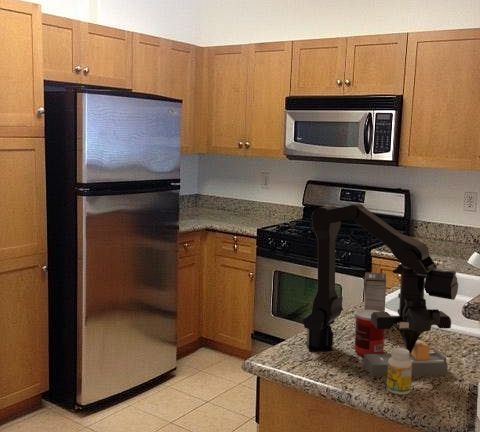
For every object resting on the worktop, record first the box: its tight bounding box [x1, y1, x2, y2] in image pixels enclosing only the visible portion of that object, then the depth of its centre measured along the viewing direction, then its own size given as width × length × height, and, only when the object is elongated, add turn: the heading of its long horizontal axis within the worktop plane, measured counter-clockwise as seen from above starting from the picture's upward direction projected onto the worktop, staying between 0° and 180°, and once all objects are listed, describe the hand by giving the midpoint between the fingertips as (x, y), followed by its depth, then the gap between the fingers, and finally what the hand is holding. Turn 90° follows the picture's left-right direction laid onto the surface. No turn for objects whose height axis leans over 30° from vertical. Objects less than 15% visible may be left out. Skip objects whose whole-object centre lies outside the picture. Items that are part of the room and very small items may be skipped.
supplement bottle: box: [386, 347, 412, 396], centre depth 131 cm, size 5×5×10 cm
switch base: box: [363, 348, 448, 378], centre depth 143 cm, size 19×7×4 cm, turn 94°
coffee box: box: [363, 272, 387, 312], centre depth 175 cm, size 9×6×16 cm
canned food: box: [354, 309, 386, 358], centre depth 154 cm, size 8×8×11 cm
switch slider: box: [411, 339, 430, 360], centre depth 143 cm, size 3×4×4 cm
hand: (408, 352), depth 142 cm, fingers closed
